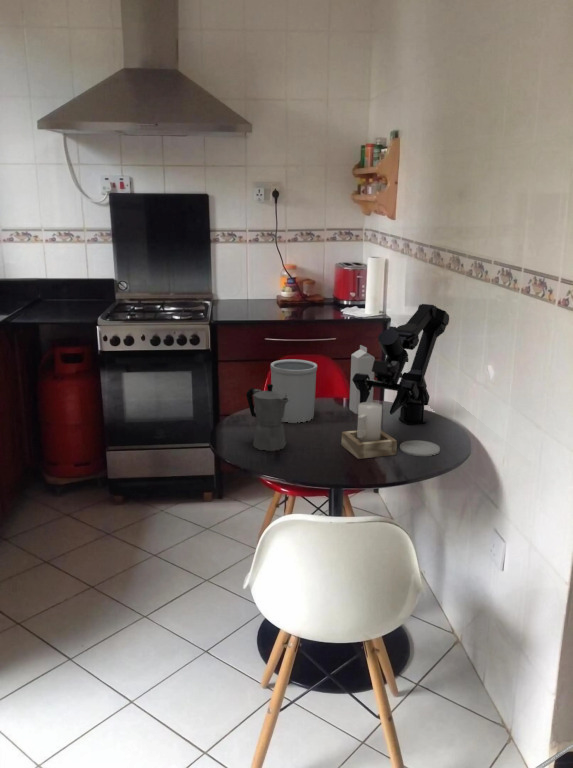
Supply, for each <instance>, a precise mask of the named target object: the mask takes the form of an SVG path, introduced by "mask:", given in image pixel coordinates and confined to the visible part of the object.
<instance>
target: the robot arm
mask: <svg viewBox="0 0 573 768" xmlns="http://www.w3.org/2000/svg"><path fill="white" fill-rule="evenodd" d="M449 322H450V315H449V314H448V312H447V311H446V310H443V309H441V308H439V307H438V306H436V305H434V304H430V303H429V304H427V303H421V304H418V308H417V310H416V311H415V312H414V313H413V315H412V316H411V317H410V318H409V320H408V321H406V323H405V324H402V325H398V326H397V327H396V326H389V327H388V329H385V330H383V331H381V332H380V333H379V335H378V336H377V337H378V338H377V339H378V342H379V345H380V347H381V349H382V351H383V354H384V355H385V356H386V357H385V359H384V361H382V360H376V359H375V361H374V363H373V367H372V372H374V380H370V378H369V376H368V374H361V373H356V374H355V375H354V377H353V379H352V380H353V382H354V384H355V386H356V388H357V389H358V390H359V391H360V403H363V402H366V401H367V399H368V397H369V395H370V392H369V391H370V390H371V388H372V387H374V388H377V389H382V390H383V389H384V390H390V391H396V395H395V399H393V402H392V404H391V407H390V410H389V414H390V415H393V414H394V413H395V412H397V411H398V410H399V409H400V413H399V414H400V415H399V417H398V419H399V420H400V421H401V422H403V423H405V424H406V425H418V424H426V423H427V421H426V420H425V419H424V415H425V406H429V402H430V394H429V392H428V389H427V386H428V385H427V383H426V379H425V375H426V372H427V369H428V367H429V363H430V361H431V357H432V353H433V351H434V347H435V346H436V341H437V338H439V337H440V336H441V335H442V334H443V333H445V330H446V328H447V326H448V325H449ZM421 332H422V333H421ZM420 334H421V336H420V337H419V335H420ZM419 338H420V339H419ZM416 347H417V349H416ZM414 349H416V352H415V356H414V357H413V358H414V359H413V360H412V364H411V366H410V370H409V371H408V372H403V370H404V367H405V365H406V363H409V354H408V351H407V350H410V351H411V350H412V351H413V350H414ZM375 378H376V379H375ZM399 380H400V381H399Z"/></svg>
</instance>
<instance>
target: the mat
mask: <svg viewBox="0 0 573 768" xmlns="http://www.w3.org/2000/svg"><path fill="white" fill-rule="evenodd" d="M440 447H441V446H439V445H438V444H436V443H434V442H431V441H426V440H416V439H415V440H406V441H403V442H401V443H400V444H399V449H400V451H401V452H403V453H404V454H406V455H410V456H414V457H433V456H432V455H434V456H436V454H437V455H438V454H439V453H440V452H441V448H440Z"/></svg>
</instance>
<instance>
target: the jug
mask: <svg viewBox="0 0 573 768" xmlns="http://www.w3.org/2000/svg"><path fill="white" fill-rule="evenodd" d="M382 413H383V405H382V404H381V403H379V402H374V401H373V402H363V403H360V404H359V408H358V414H357V429H356V430H357V439H358V440H359V441H360V442H371V441H380V437H381V430H382V416H383V415H382Z"/></svg>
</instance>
